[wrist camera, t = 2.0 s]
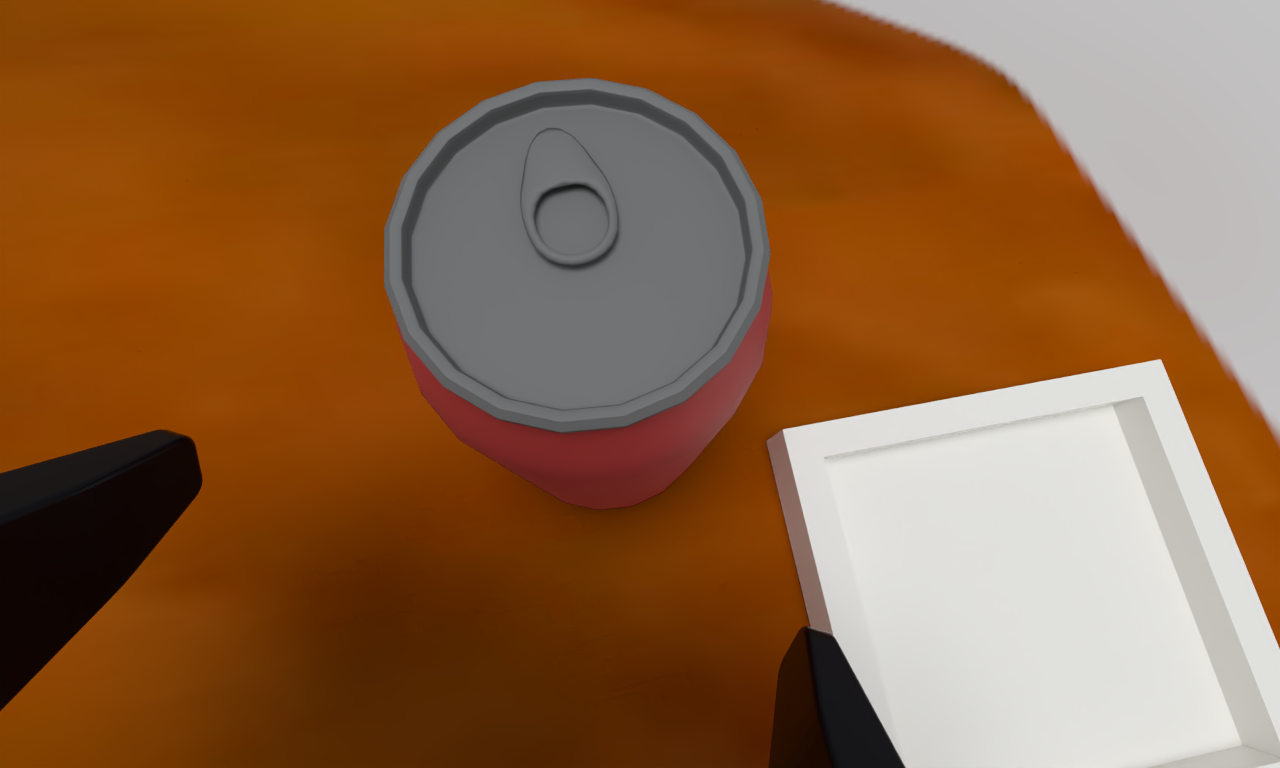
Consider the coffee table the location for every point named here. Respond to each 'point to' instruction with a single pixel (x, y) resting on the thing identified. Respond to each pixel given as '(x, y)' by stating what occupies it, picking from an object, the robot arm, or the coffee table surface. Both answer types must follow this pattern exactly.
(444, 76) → the coffee table surface
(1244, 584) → the dock tray
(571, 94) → the beer can
